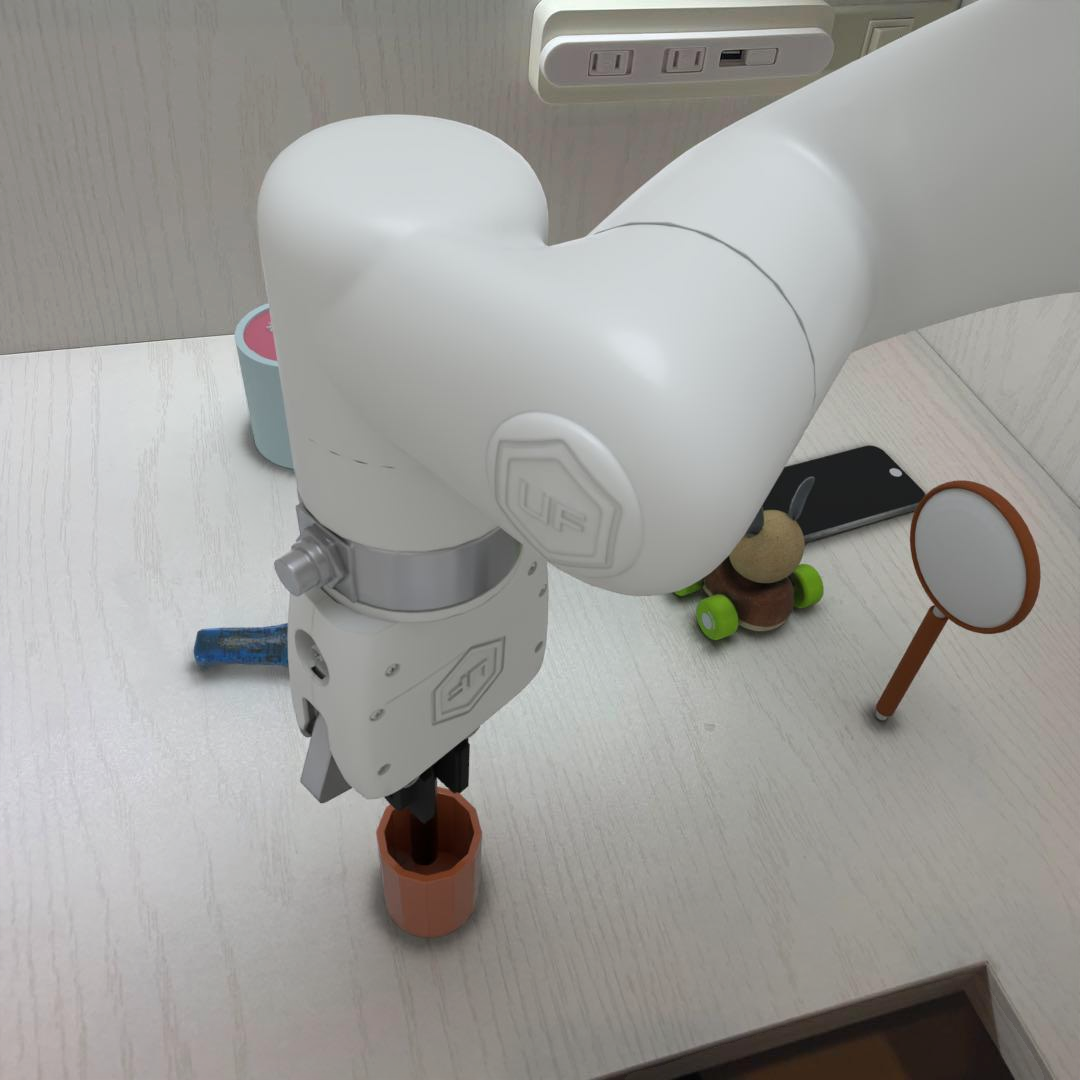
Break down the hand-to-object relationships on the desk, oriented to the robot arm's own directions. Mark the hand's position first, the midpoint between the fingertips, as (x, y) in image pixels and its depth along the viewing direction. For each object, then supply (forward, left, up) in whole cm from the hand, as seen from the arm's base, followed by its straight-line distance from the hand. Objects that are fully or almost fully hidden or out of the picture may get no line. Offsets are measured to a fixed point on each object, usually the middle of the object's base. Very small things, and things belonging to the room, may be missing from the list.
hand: (424, 784), depth 46 cm
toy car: (+1, -31, -12) cm, 33 cm away
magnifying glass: (-12, -29, -12) cm, 34 cm away
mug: (+34, -19, -12) cm, 41 cm away
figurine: (+17, -5, -12) cm, 21 cm away
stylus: (0, 0, -8) cm, 8 cm away
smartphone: (+2, -45, -12) cm, 47 cm away
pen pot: (0, 0, -12) cm, 12 cm away
